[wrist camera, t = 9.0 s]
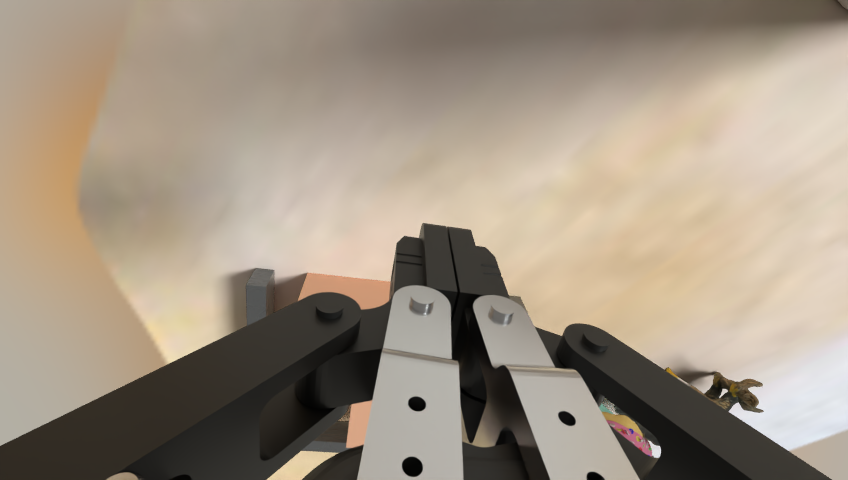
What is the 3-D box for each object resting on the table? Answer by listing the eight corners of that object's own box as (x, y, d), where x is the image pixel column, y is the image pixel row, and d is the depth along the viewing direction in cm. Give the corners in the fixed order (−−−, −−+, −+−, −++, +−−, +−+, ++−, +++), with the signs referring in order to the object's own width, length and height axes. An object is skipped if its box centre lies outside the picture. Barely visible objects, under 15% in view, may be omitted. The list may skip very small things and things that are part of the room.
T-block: (479, 291, 30) (491, 327, 26) (447, 410, 35) (453, 453, 31) (307, 272, 28) (294, 307, 25) (301, 400, 33) (289, 444, 30)
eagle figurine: (715, 334, 31) (614, 399, 31) (805, 424, 27) (690, 498, 28) (691, 355, 38) (607, 409, 38) (761, 430, 34) (667, 490, 34)
